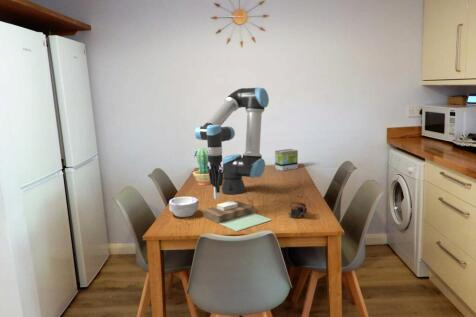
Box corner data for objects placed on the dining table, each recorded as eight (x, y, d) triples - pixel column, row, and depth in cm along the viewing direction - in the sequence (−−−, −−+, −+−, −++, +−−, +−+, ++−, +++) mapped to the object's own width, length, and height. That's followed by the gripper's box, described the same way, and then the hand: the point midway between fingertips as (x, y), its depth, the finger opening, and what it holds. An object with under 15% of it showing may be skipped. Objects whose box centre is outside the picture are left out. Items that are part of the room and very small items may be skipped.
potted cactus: (209, 179, 285) (207, 145, 281) (219, 183, 272) (217, 147, 268) (189, 183, 277) (187, 147, 273) (199, 187, 264) (197, 150, 260)
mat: (253, 213, 207) (253, 213, 207) (271, 220, 196) (271, 219, 196) (219, 223, 194) (219, 223, 194) (236, 231, 183) (236, 230, 183)
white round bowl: (204, 213, 210) (203, 199, 208) (181, 221, 200) (180, 206, 198) (187, 208, 221) (186, 194, 219) (164, 215, 211) (163, 200, 209)
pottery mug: (283, 216, 202) (286, 201, 204) (297, 221, 206) (300, 206, 208) (298, 216, 192) (301, 200, 194) (313, 222, 196) (316, 205, 198)
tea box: (282, 171, 303) (281, 152, 300) (274, 169, 312) (274, 150, 309) (298, 168, 310) (297, 149, 307) (290, 166, 319) (290, 148, 316)
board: (237, 207, 218) (237, 200, 217) (253, 213, 207) (253, 206, 206) (203, 217, 205) (203, 209, 204) (219, 223, 194) (218, 216, 193)
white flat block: (230, 204, 211) (230, 200, 210) (237, 207, 206) (237, 203, 206) (216, 208, 205) (216, 204, 205) (223, 210, 201) (223, 207, 200)
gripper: (202, 154, 211) (204, 197, 215) (216, 156, 200) (218, 202, 205) (213, 152, 215) (215, 194, 219) (228, 155, 205) (229, 199, 209)
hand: (216, 198), depth 212 cm, fingers closed
